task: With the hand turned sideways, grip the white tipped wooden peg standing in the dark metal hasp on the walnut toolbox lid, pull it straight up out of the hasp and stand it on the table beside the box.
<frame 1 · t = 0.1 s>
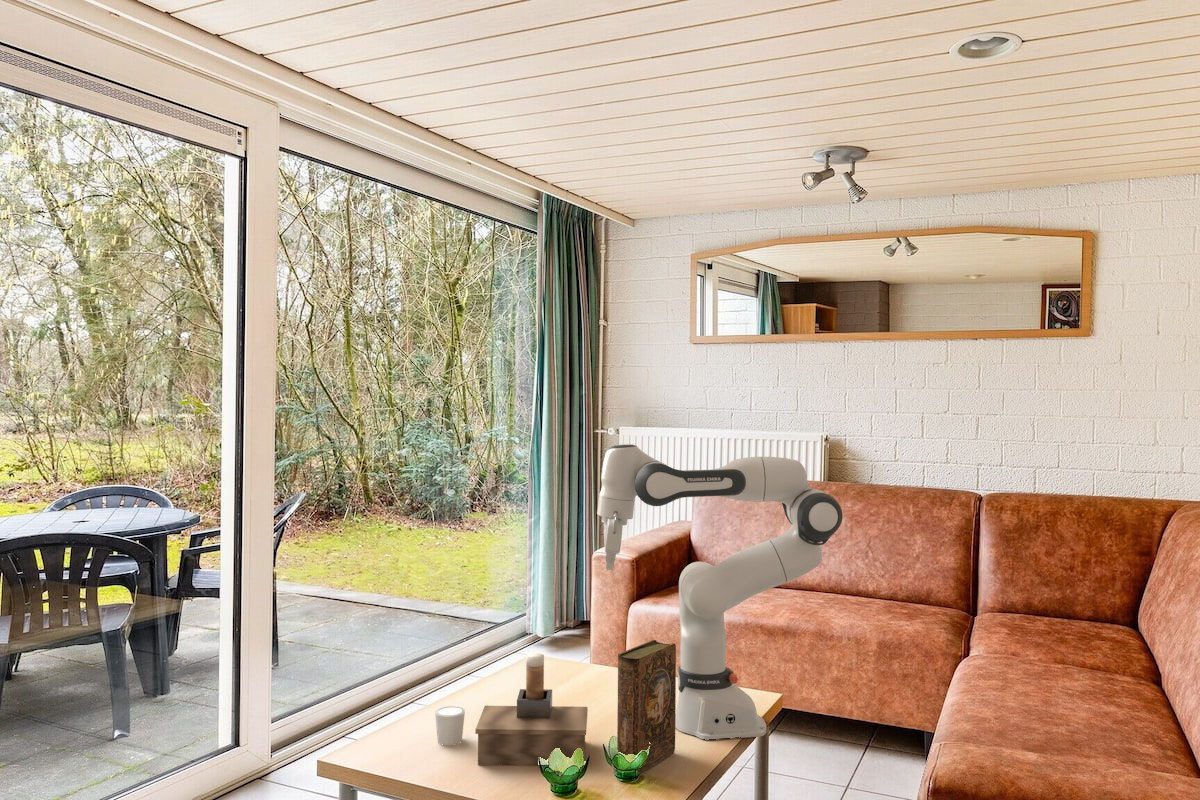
hand: (609, 565, 212), 39 cm above the table, tool pointing down, fingers open, 8 cm apart
book: (645, 763, 190), on the table
white tipped wooden peg: (534, 712, 198), point 8 cm above the table, touching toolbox
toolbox: (533, 753, 195), on the table
white cup: (449, 741, 202), on the table
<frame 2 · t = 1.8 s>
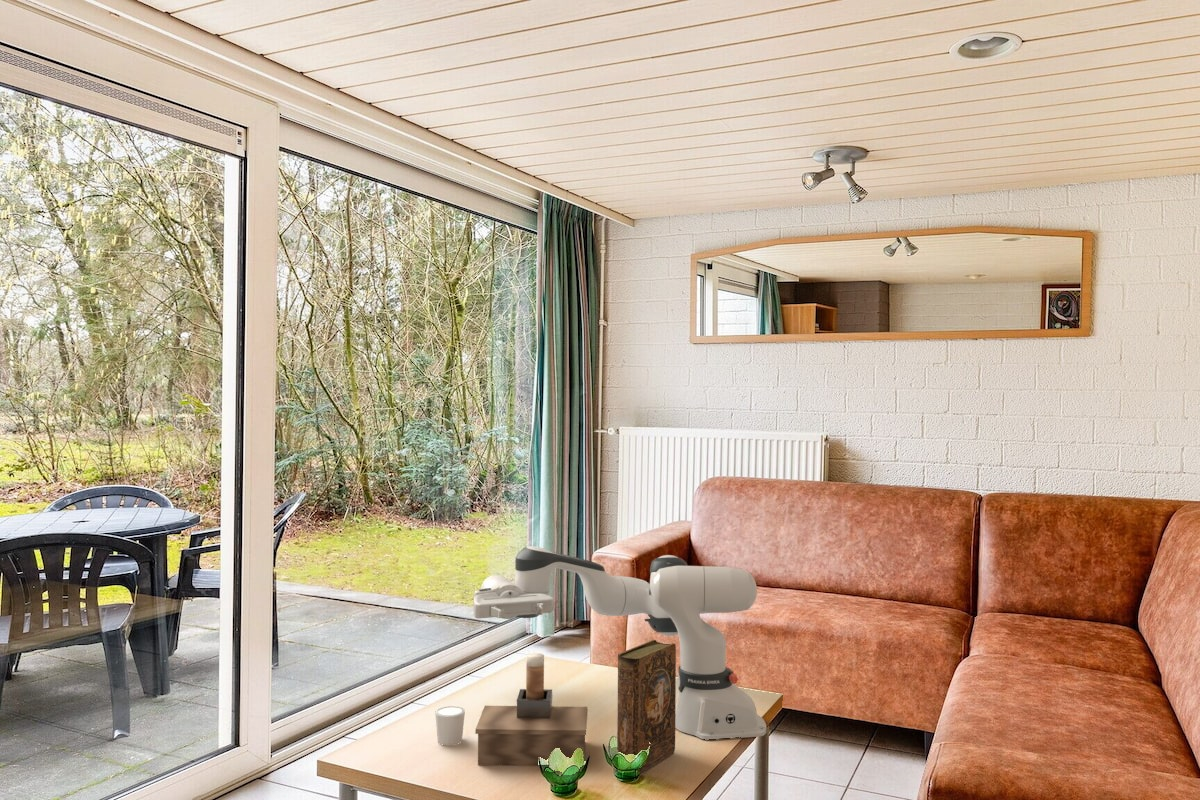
hand: (521, 613, 210), 28 cm above the table, tool horizontal, fingers open, 8 cm apart
nothing on the table moved.
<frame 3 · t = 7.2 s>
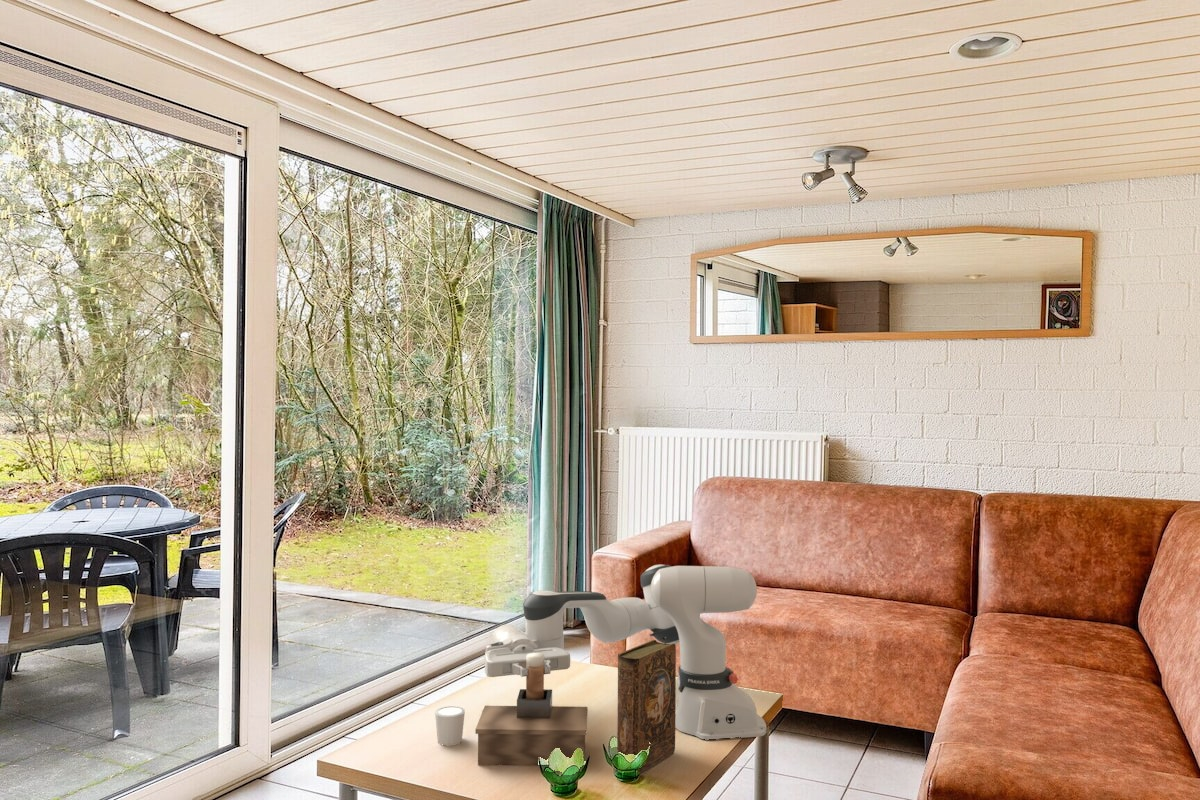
hand: (536, 671, 197), 18 cm above the table, tool horizontal, fingers closed on white tipped wooden peg, 4 cm apart
white tipped wooden peg: (534, 712, 198), point 8 cm above the table, touching gripper, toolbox
everything else where it was.
when the fingers open (10 cm above the table, at t = 15.9 s): white tipped wooden peg stays where it is, on the table.
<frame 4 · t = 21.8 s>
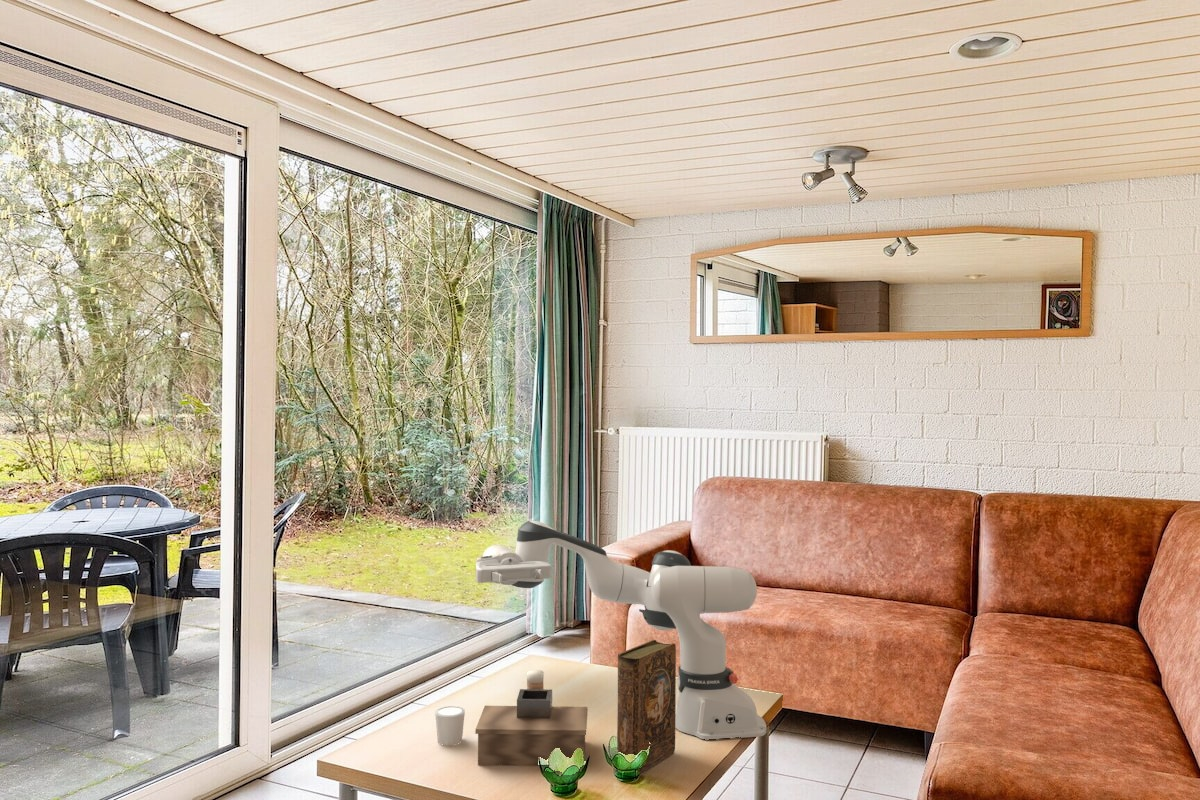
hand: (520, 577, 222), 34 cm above the table, tool horizontal, fingers open, 8 cm apart
white tipped wooden peg: (534, 725, 211), on the table
everything else where it was.
at the end: white tipped wooden peg inside the target area (0.0 cm from its centre), on the table; white tipped wooden peg touching table; the gripper is holding nothing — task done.
